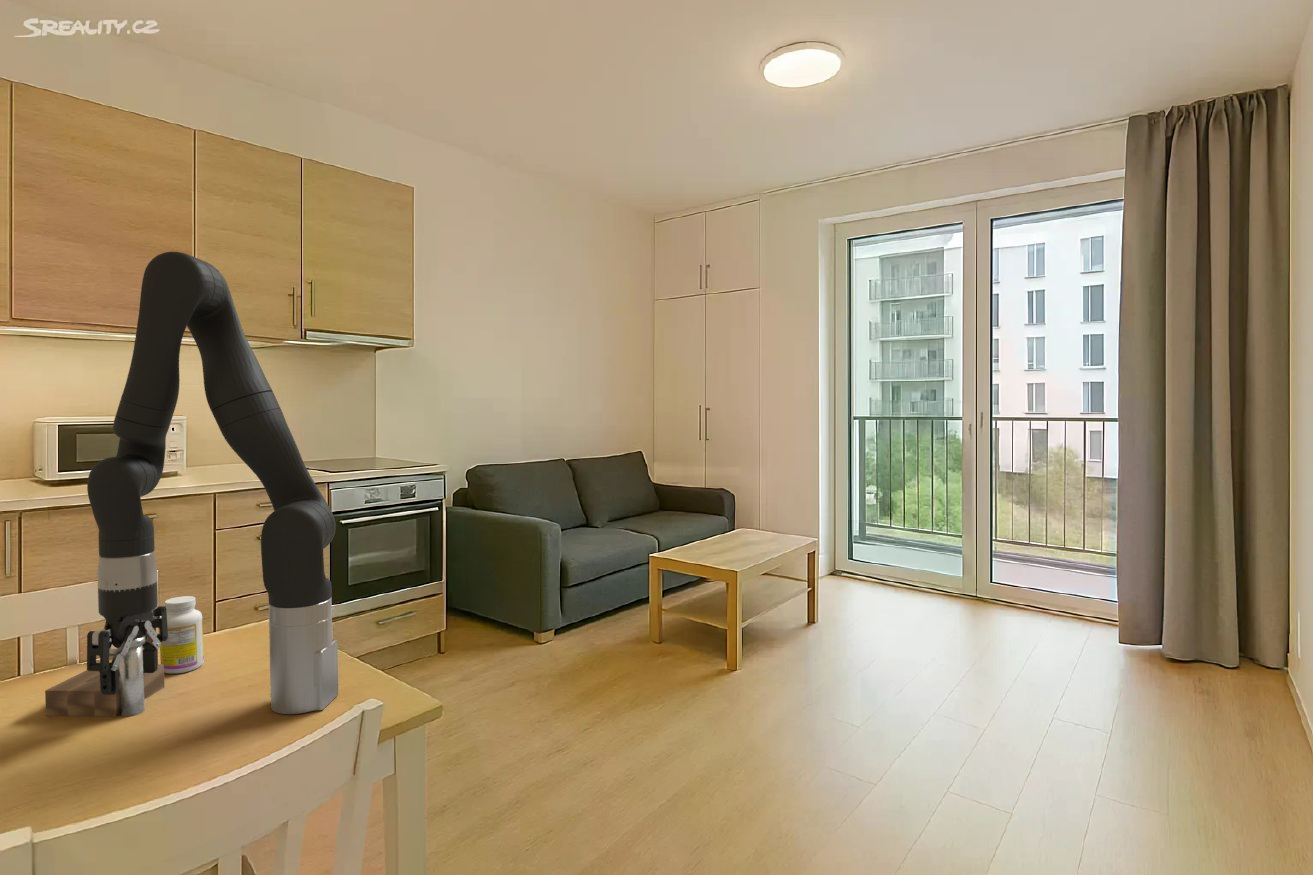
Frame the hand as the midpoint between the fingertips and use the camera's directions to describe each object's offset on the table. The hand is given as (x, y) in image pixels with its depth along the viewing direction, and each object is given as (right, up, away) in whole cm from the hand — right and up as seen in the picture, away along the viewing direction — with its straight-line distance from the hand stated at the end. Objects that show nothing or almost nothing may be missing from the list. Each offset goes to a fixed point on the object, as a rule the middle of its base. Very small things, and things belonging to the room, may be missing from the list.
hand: (130, 682), depth 113 cm
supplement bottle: (-4, -4, +18) cm, 19 cm away
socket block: (-7, -4, +4) cm, 9 cm away
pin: (0, -5, 0) cm, 5 cm away
